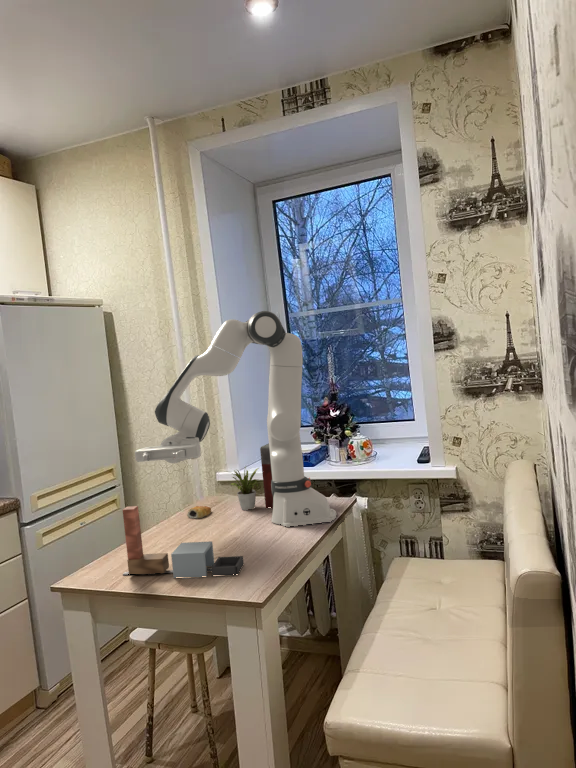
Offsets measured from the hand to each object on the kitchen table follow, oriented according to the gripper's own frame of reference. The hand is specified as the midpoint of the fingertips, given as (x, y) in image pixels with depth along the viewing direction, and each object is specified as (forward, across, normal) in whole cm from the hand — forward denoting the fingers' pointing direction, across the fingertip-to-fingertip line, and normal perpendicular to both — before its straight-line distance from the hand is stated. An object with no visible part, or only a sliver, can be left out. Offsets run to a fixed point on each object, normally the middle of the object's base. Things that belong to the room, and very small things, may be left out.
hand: (159, 457), depth 181 cm
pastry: (-40, -2, +30) cm, 50 cm away
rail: (+16, +5, +30) cm, 34 cm away
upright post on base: (+16, -1, +29) cm, 33 cm away
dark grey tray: (+16, +22, +30) cm, 40 cm away
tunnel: (+16, +12, +30) cm, 36 cm away
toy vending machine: (-48, +28, +30) cm, 63 cm away
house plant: (-45, +14, +30) cm, 56 cm away
